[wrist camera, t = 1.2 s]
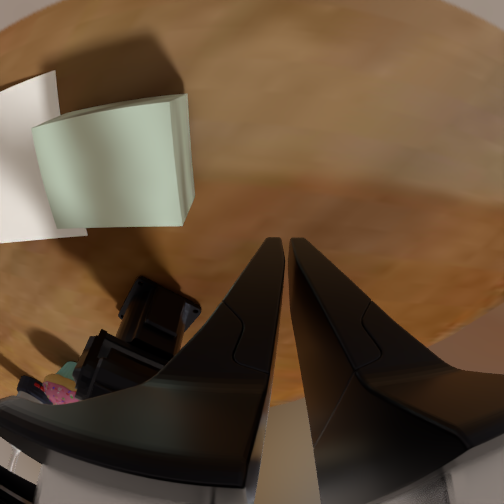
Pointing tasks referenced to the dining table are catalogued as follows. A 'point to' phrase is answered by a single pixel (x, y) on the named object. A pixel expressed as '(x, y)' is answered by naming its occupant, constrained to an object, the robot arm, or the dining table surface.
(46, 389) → the cupcake
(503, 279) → the dining table surface
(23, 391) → the humidifier
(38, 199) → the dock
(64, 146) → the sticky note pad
